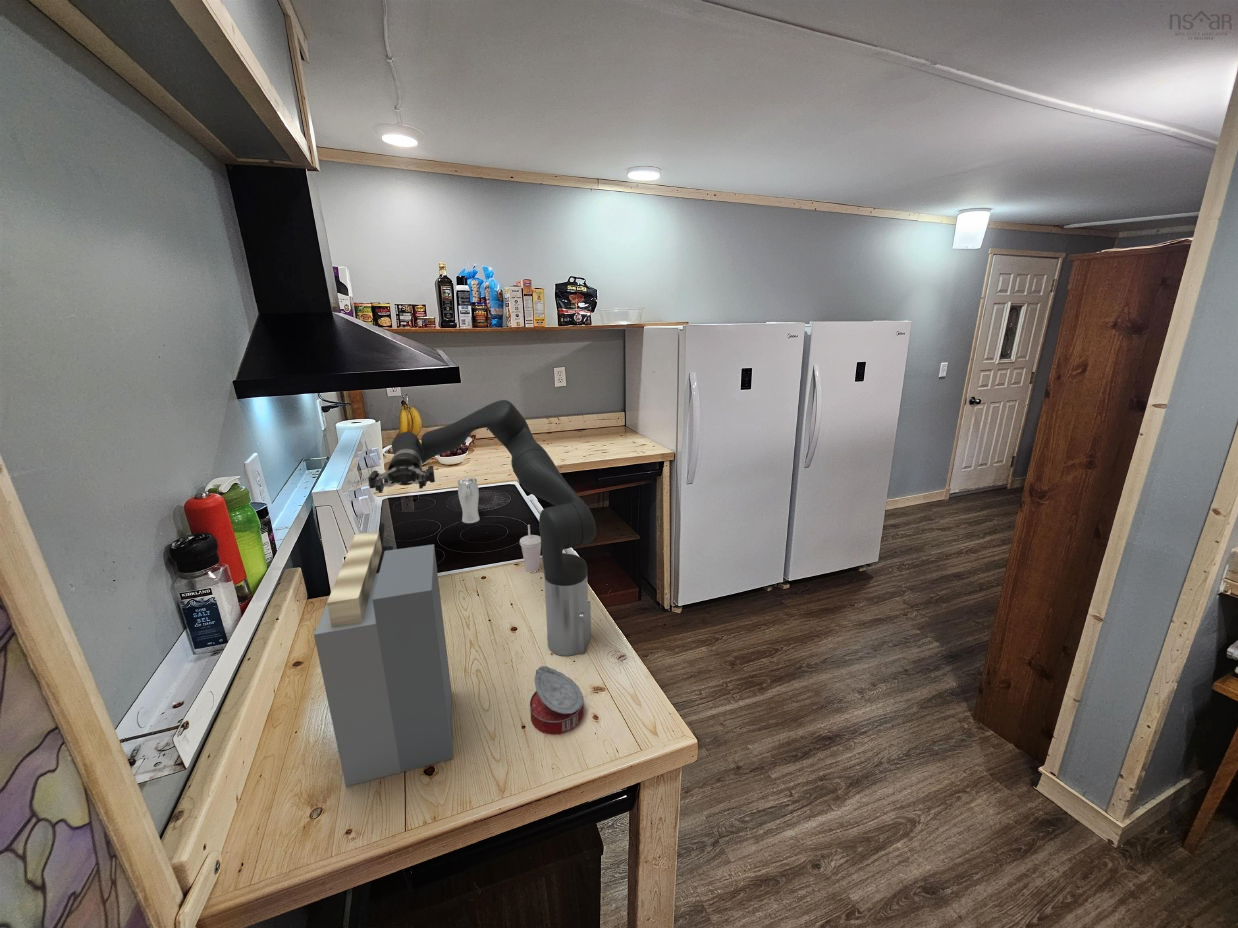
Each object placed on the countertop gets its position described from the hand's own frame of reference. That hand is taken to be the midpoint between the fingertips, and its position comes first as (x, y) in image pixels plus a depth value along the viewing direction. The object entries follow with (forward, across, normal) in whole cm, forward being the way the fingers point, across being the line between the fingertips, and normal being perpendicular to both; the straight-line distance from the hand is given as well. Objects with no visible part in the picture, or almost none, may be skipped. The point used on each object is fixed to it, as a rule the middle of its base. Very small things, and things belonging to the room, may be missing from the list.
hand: (400, 486), depth 111 cm
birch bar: (+32, -4, +6) cm, 33 cm away
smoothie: (-14, +30, +34) cm, 48 cm away
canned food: (+41, +26, +34) cm, 59 cm away
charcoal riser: (+37, 0, +34) cm, 50 cm away
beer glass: (-58, +15, +34) cm, 69 cm away
